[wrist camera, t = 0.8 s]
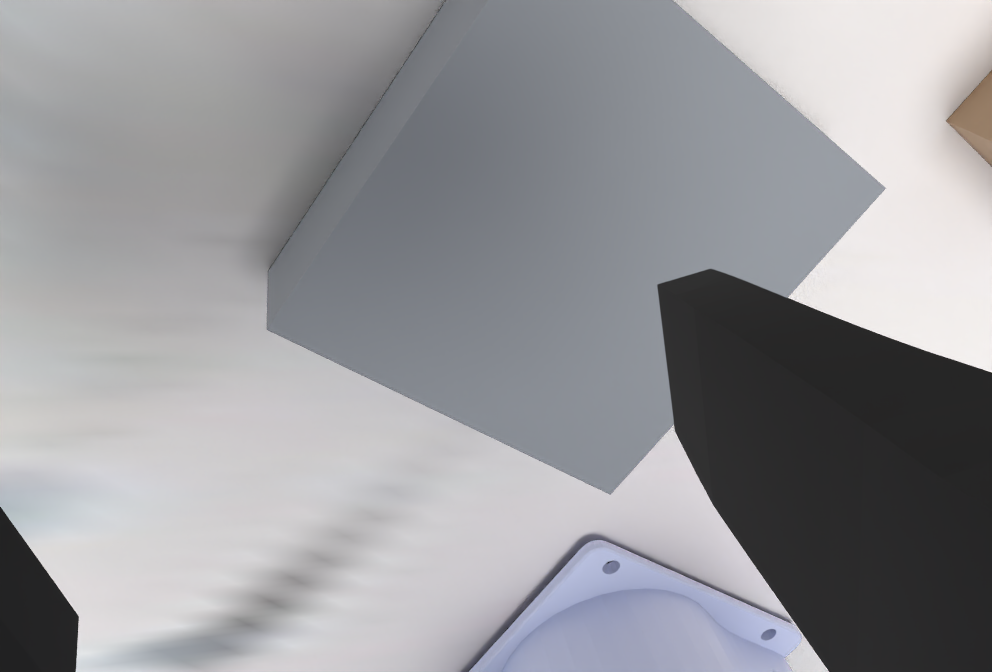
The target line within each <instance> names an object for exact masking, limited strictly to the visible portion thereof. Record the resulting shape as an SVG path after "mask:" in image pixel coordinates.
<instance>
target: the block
mask: <svg viewBox="0 0 992 672" xmlns="http://www.w3.org/2000/svg"><path fill="white" fill-rule="evenodd" d="M947 122H948V123H949V124H950V125H951V126H952V127H953V128H954V129H955V130H956V131H957V132H958V133H959V134H960V135H961V136H962V137H963V138H964V139H965V140H966V141H967V142H968V143H969V144H970V145H971V146H972V147H973V148H974V149H975V150H976V151H977V152H978V153H979V154H980V155H981V156H982V157H983V158H984V159H985V160H986V161H987V162H988V163H989V164H990V165H991V166H992V70H991V72H990V73H989V74H988V75H987V76H986V77H985V78H984V79H983V80H982V82H981V83H980V84H979V85H978V86H977V87H976V88H975V89H974V90H973V92H972V93H971V94H970V95H969V96H968V97H967V98H966V99H965V100H964V102H963V103H962V104H961V105H960V106H959V107H958V108H957V109H956V111H955V112H954V113H953V114H952V115H951V116H950V117H949V118H948V119H947Z"/></svg>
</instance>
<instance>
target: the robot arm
mask: <svg viewBox="0 0 992 672" xmlns="http://www.w3.org/2000/svg"><path fill="white" fill-rule="evenodd" d="M657 288H658V296H659V304H660V312H661V321H662V329H663V337H664V345H665V353H666V362H667V370H668V378H669V386H670V394H671V402H672V411H673V419H674V427H675V432H676V434H677V436H678V438H679V440H680V442H681V444H682V446H683V448H684V450H685V452H686V454H687V456H688V458H689V460H690V462H691V464H692V466H693V468H694V470H695V472H696V474H697V475H698V477H699V479H700V481H701V483H702V485H703V487H704V489H705V490H706V492H707V494H708V496H709V498H710V500H711V502H712V504H713V505H714V507H715V508H716V510H717V511H718V513H719V514H720V516H721V517H722V519H723V520H724V522H725V523H726V524H727V526H728V527H729V529H730V530H731V532H732V533H733V535H734V536H735V537H736V539H737V540H738V542H739V543H740V545H741V546H742V548H743V549H744V551H745V552H746V553H747V555H748V556H749V558H750V559H751V561H752V562H753V564H754V565H755V566H756V568H757V569H758V571H759V572H760V574H761V575H762V576H763V578H764V579H765V581H766V582H767V583H768V585H769V586H770V588H771V589H772V591H773V592H774V593H775V595H776V596H777V598H778V599H779V601H780V602H781V603H782V605H783V606H784V608H785V609H786V611H787V612H788V613H789V615H790V616H791V618H792V619H793V621H794V622H795V623H796V625H797V626H798V628H799V629H800V631H801V632H802V633H803V635H804V636H805V638H806V639H807V641H808V642H809V643H810V645H811V646H812V648H813V649H814V651H815V652H816V653H817V655H818V656H819V658H820V659H821V661H822V662H823V663H824V665H825V666H826V668H827V669H828V671H829V672H992V373H991V372H988V371H985V370H982V369H979V368H976V367H973V366H970V365H967V364H964V363H961V362H958V361H955V360H952V359H949V358H946V357H942V356H939V355H936V354H933V353H930V352H927V351H924V350H921V349H919V348H916V347H913V346H910V345H907V344H905V343H902V342H899V341H896V340H894V339H891V338H888V337H885V336H883V335H880V334H877V333H875V332H872V331H869V330H867V329H864V328H861V327H859V326H856V325H854V324H851V323H849V322H846V321H843V320H841V319H838V318H836V317H833V316H831V315H828V314H826V313H823V312H821V311H818V310H816V309H813V308H811V307H808V306H806V305H803V304H801V303H799V302H796V301H794V300H791V299H789V298H786V297H784V296H781V295H779V294H777V293H774V292H772V291H769V290H767V289H764V288H762V287H759V286H757V285H754V284H752V283H749V282H747V281H744V280H742V279H739V278H737V277H734V276H731V275H729V274H726V273H723V272H720V271H717V270H714V269H707V270H704V271H701V272H697V273H694V274H691V275H687V276H684V277H680V278H677V279H674V280H670V281H667V282H664V283H660V284H657ZM612 560H613V561H612ZM609 561H612V562H610V563H608V564H606V563H607V562H609ZM78 621H79V616H78V615H77V613H76V612H75V611H74V609H73V608H72V606H71V605H70V604H69V602H68V601H67V599H66V598H65V597H64V595H63V594H62V592H61V591H60V590H59V588H58V587H57V585H56V584H55V583H54V581H53V580H52V578H51V577H50V576H49V574H48V573H47V571H46V570H45V569H44V567H43V566H42V564H41V563H40V562H39V560H38V559H37V557H36V556H35V555H34V553H33V552H32V550H31V549H30V548H29V546H28V545H27V543H26V542H25V541H24V539H23V538H22V536H21V535H20V534H19V532H18V531H17V529H16V528H15V527H14V525H13V524H12V522H11V521H10V520H9V518H8V517H7V515H6V514H5V513H4V511H3V510H2V508H1V507H0V672H75V671H76V656H77V638H78ZM801 639H802V637H801V634H800V632H799V630H798V629H797V627H796V626H794V625H793V624H791V623H789V622H786V621H784V620H782V619H780V618H777V617H775V616H773V615H771V614H768V613H766V612H764V611H762V610H759V609H757V608H755V607H753V606H750V605H748V604H746V603H744V602H741V601H739V600H737V599H735V598H732V597H730V596H728V595H726V594H723V593H721V592H719V591H717V590H714V589H712V588H710V587H708V586H705V585H703V584H701V583H699V582H696V581H694V580H692V579H690V578H687V577H685V576H683V575H681V574H678V573H676V572H674V571H672V570H670V569H667V568H665V567H663V566H661V565H658V564H656V563H654V562H652V561H649V560H647V559H645V558H643V557H640V556H638V555H636V554H634V553H631V552H629V551H627V550H625V549H622V548H620V547H618V546H616V545H613V544H611V543H609V542H607V541H603V540H594V541H591V542H588V543H586V544H585V545H584V546H583V547H582V548H581V549H580V550H579V551H578V552H577V553H576V554H575V555H574V556H573V558H572V559H571V560H570V561H569V562H568V563H567V564H566V565H565V566H564V567H563V569H562V570H561V571H560V572H559V573H558V574H557V575H556V576H555V577H554V578H553V580H552V581H551V582H550V583H549V584H548V585H547V586H546V587H545V588H544V589H543V591H542V592H541V593H540V594H539V595H538V596H537V597H536V598H535V599H534V600H533V602H532V603H531V604H530V605H529V606H528V607H527V608H526V609H525V610H524V611H523V613H522V614H521V615H520V616H519V617H518V618H517V619H516V620H515V621H514V622H513V624H512V625H511V626H510V627H509V628H508V629H507V630H506V631H505V632H504V633H503V635H502V636H501V637H500V638H499V639H498V640H497V641H496V642H495V643H494V644H493V646H492V647H491V648H490V649H489V650H488V651H487V652H486V653H485V654H484V655H483V657H482V658H481V659H480V660H479V661H478V662H477V663H476V664H475V665H474V666H473V668H472V669H471V670H470V671H469V672H793V671H792V669H791V668H790V666H789V664H788V663H787V661H786V660H785V657H786V656H788V655H789V654H790V653H791V652H792V651H793V650H794V649H795V648H796V647H797V646H798V645H799V644H800V641H801Z"/></svg>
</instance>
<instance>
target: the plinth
mask: <svg viewBox="0 0 992 672" xmlns="http://www.w3.org/2000/svg"><path fill="white" fill-rule="evenodd" d="M885 189H886V188H885V187H884V186H883V185H882V184H880V183H879V182H878V181H877V180H876V179H875V178H874V177H872V176H871V175H870V174H869V173H868V172H867V171H866V170H865V169H863V168H862V167H861V166H860V165H859V164H858V163H857V162H855V161H854V160H853V159H852V158H851V157H850V156H849V155H848V154H846V153H845V152H844V151H843V150H842V149H841V148H840V147H838V146H837V145H836V144H835V143H834V142H833V141H832V140H831V139H829V138H828V137H827V136H826V135H825V134H824V133H823V132H821V131H820V130H819V129H818V128H817V127H816V126H815V125H814V124H812V123H811V122H810V121H809V120H808V119H807V118H806V117H804V116H803V115H802V114H801V113H800V112H799V111H798V110H796V109H795V108H794V107H793V106H792V105H791V104H790V103H789V102H787V101H786V100H785V99H784V98H783V97H782V96H781V95H779V94H778V93H777V92H776V91H775V90H774V89H773V88H772V87H770V86H769V85H768V84H767V83H766V82H765V81H764V80H762V79H761V78H760V77H759V76H758V75H757V74H756V73H755V72H753V71H752V70H751V69H750V68H749V67H748V66H747V65H745V64H744V63H743V62H742V61H741V60H740V59H739V58H738V57H736V56H735V55H734V54H733V53H732V52H731V51H730V50H728V49H727V48H726V47H725V46H724V45H723V44H722V43H720V42H719V41H718V40H717V39H716V38H715V37H714V36H713V35H711V34H710V33H709V32H708V31H707V30H706V29H705V28H703V27H702V26H701V25H700V24H699V23H698V22H697V21H696V20H694V19H693V18H692V17H691V16H690V15H689V14H688V13H686V12H685V11H684V10H683V9H682V8H681V7H680V6H679V5H677V4H676V3H675V2H674V1H673V0H446V1H445V3H444V4H443V6H442V7H441V9H440V10H439V12H438V13H437V15H436V16H435V18H434V19H433V21H432V22H431V24H430V25H429V27H428V28H427V30H426V32H425V33H424V35H423V36H422V38H421V39H420V41H419V42H418V44H417V45H416V47H415V48H414V50H413V51H412V53H411V54H410V56H409V57H408V59H407V60H406V62H405V64H404V65H403V67H402V68H401V70H400V71H399V73H398V74H397V76H396V77H395V79H394V80H393V82H392V83H391V85H390V86H389V88H388V89H387V91H386V92H385V94H384V96H383V97H382V99H381V100H380V102H379V103H378V105H377V106H376V108H375V109H374V111H373V112H372V114H371V115H370V117H369V118H368V120H367V121H366V123H365V124H364V126H363V128H362V129H361V131H360V132H359V134H358V135H357V137H356V138H355V140H354V141H353V143H352V144H351V146H350V147H349V149H348V150H347V152H346V153H345V155H344V156H343V158H342V160H341V161H340V163H339V164H338V166H337V167H336V169H335V170H334V172H333V173H332V175H331V176H330V178H329V179H328V181H327V182H326V184H325V185H324V187H323V188H322V190H321V191H320V193H319V195H318V196H317V198H316V199H315V201H314V202H313V204H312V205H311V207H310V208H309V210H308V211H307V213H306V214H305V216H304V217H303V219H302V220H301V222H300V223H299V225H298V227H297V228H296V230H295V231H294V233H293V234H292V236H291V237H290V239H289V240H288V242H287V243H286V245H285V246H284V248H283V249H282V251H281V252H280V254H279V255H278V257H277V259H276V260H275V262H274V263H273V265H272V266H271V268H270V269H269V271H268V290H267V330H269V331H271V332H273V333H275V334H277V335H279V336H281V337H283V338H285V339H287V340H290V341H292V342H294V343H296V344H298V345H300V346H302V347H304V348H306V349H308V350H310V351H312V352H315V353H317V354H319V355H321V356H323V357H325V358H327V359H329V360H331V361H333V362H335V363H337V364H339V365H342V366H344V367H346V368H348V369H350V370H352V371H354V372H356V373H358V374H360V375H362V376H364V377H367V378H369V379H371V380H373V381H375V382H377V383H379V384H381V385H383V386H385V387H387V388H389V389H392V390H394V391H396V392H398V393H400V394H402V395H404V396H406V397H408V398H410V399H412V400H414V401H417V402H419V403H421V404H423V405H425V406H427V407H429V408H431V409H433V410H435V411H437V412H439V413H442V414H444V415H446V416H448V417H450V418H452V419H454V420H456V421H458V422H460V423H462V424H464V425H466V426H469V427H471V428H473V429H475V430H477V431H479V432H481V433H483V434H485V435H487V436H489V437H491V438H494V439H496V440H498V441H500V442H502V443H504V444H506V445H508V446H510V447H512V448H514V449H516V450H519V451H521V452H523V453H525V454H527V455H529V456H531V457H533V458H535V459H537V460H539V461H541V462H544V463H546V464H548V465H550V466H552V467H554V468H556V469H558V470H560V471H562V472H564V473H566V474H568V475H571V476H573V477H575V478H577V479H579V480H581V481H583V482H585V483H587V484H589V485H591V486H593V487H596V488H598V489H600V490H602V491H604V492H606V493H608V494H610V495H611V493H612V492H613V491H614V490H615V489H616V488H617V487H618V486H619V485H620V483H621V482H622V481H623V480H624V479H625V478H626V477H627V476H628V475H629V473H630V472H631V471H632V470H633V469H634V468H635V467H636V466H637V465H638V463H639V462H640V461H641V460H642V459H643V458H644V457H645V456H646V455H647V453H648V452H649V451H650V450H651V449H652V448H653V447H654V446H655V445H656V443H657V442H658V441H659V440H660V439H661V438H662V437H663V436H664V435H665V433H666V432H667V431H668V430H669V429H670V428H671V427H672V426H673V424H674V419H673V411H672V402H671V394H670V386H669V378H668V370H667V362H666V353H665V345H664V337H663V329H662V321H661V312H660V304H659V296H658V288H657V284H660V283H664V282H667V281H670V280H674V279H677V278H680V277H684V276H687V275H691V274H694V273H697V272H701V271H704V270H707V269H714V270H717V271H720V272H723V273H726V274H729V275H731V276H734V277H737V278H739V279H742V280H744V281H747V282H749V283H752V284H754V285H757V286H759V287H762V288H764V289H767V290H769V291H772V292H774V293H777V294H779V295H781V296H784V297H786V298H788V297H789V295H790V294H791V293H792V292H793V291H794V290H795V289H796V288H797V287H798V285H799V284H800V283H801V282H802V281H803V280H804V279H805V278H806V277H807V275H808V274H809V273H810V272H811V271H812V270H813V269H814V268H815V267H816V265H817V264H818V263H819V262H820V261H821V260H822V259H823V258H824V257H825V255H826V254H827V253H828V252H829V251H830V250H831V249H832V248H833V247H834V245H835V244H836V243H837V242H838V241H839V240H840V239H841V238H842V236H843V235H844V234H845V233H846V232H847V231H848V230H849V229H850V228H851V226H852V225H853V224H854V223H855V222H856V221H857V220H858V219H859V218H860V216H861V215H862V214H863V213H864V212H865V211H866V210H867V209H868V208H869V206H870V205H871V204H872V203H873V202H874V201H875V200H876V199H877V198H878V196H879V195H880V194H881V193H882V192H883V191H884V190H885Z"/></svg>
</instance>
